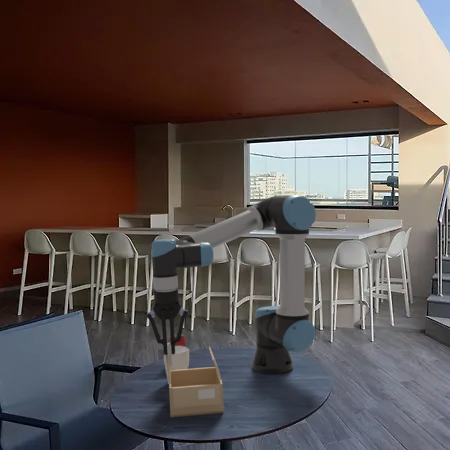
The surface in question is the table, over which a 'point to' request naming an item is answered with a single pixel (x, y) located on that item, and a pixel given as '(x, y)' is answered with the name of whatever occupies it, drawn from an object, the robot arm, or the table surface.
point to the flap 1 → (168, 369)
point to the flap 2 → (215, 362)
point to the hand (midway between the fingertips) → (170, 364)
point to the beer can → (182, 341)
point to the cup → (178, 359)
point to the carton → (195, 392)
